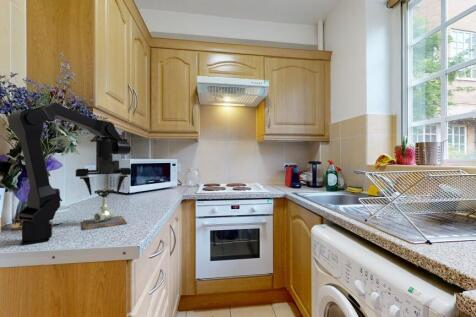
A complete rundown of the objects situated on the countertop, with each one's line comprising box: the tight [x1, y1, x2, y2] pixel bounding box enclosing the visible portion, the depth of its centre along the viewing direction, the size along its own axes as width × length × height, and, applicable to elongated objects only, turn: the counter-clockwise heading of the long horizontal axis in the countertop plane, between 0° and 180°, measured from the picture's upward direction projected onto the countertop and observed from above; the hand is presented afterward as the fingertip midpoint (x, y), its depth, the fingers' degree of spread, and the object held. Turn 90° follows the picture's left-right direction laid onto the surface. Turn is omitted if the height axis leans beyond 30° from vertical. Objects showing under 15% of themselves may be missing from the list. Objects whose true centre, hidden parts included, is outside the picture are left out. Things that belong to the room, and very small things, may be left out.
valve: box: [93, 188, 115, 223], centre depth 93 cm, size 7×7×12 cm
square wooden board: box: [82, 215, 128, 231], centre depth 93 cm, size 14×14×1 cm
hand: (104, 194), depth 93 cm, fingers open, 9 cm apart
